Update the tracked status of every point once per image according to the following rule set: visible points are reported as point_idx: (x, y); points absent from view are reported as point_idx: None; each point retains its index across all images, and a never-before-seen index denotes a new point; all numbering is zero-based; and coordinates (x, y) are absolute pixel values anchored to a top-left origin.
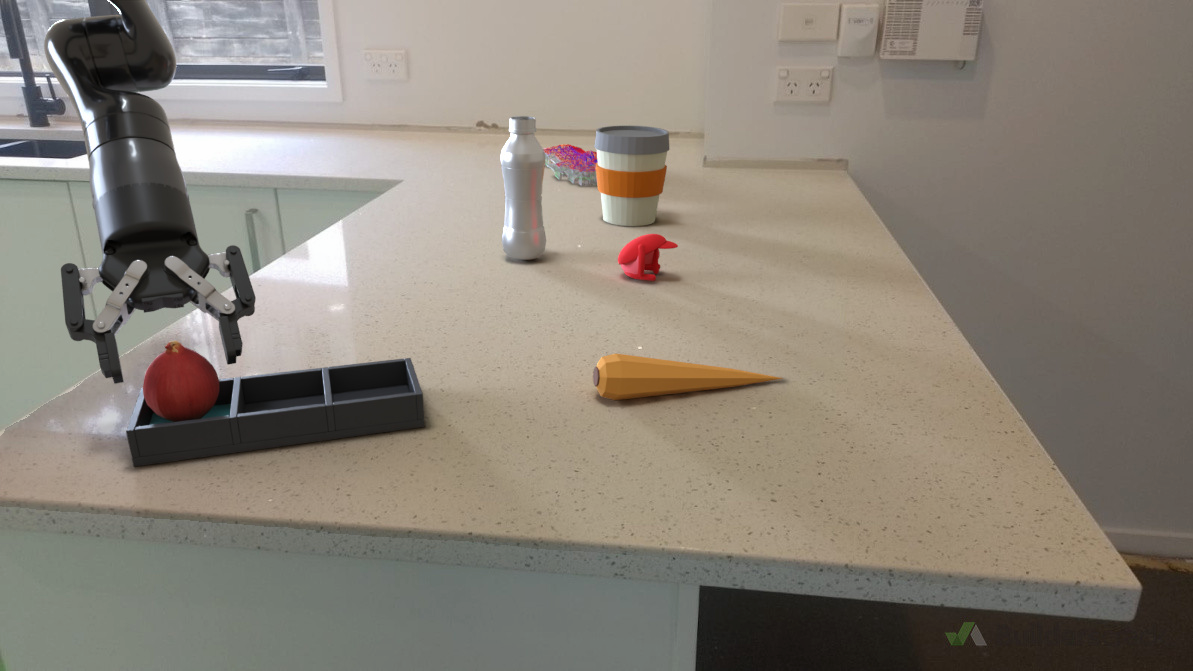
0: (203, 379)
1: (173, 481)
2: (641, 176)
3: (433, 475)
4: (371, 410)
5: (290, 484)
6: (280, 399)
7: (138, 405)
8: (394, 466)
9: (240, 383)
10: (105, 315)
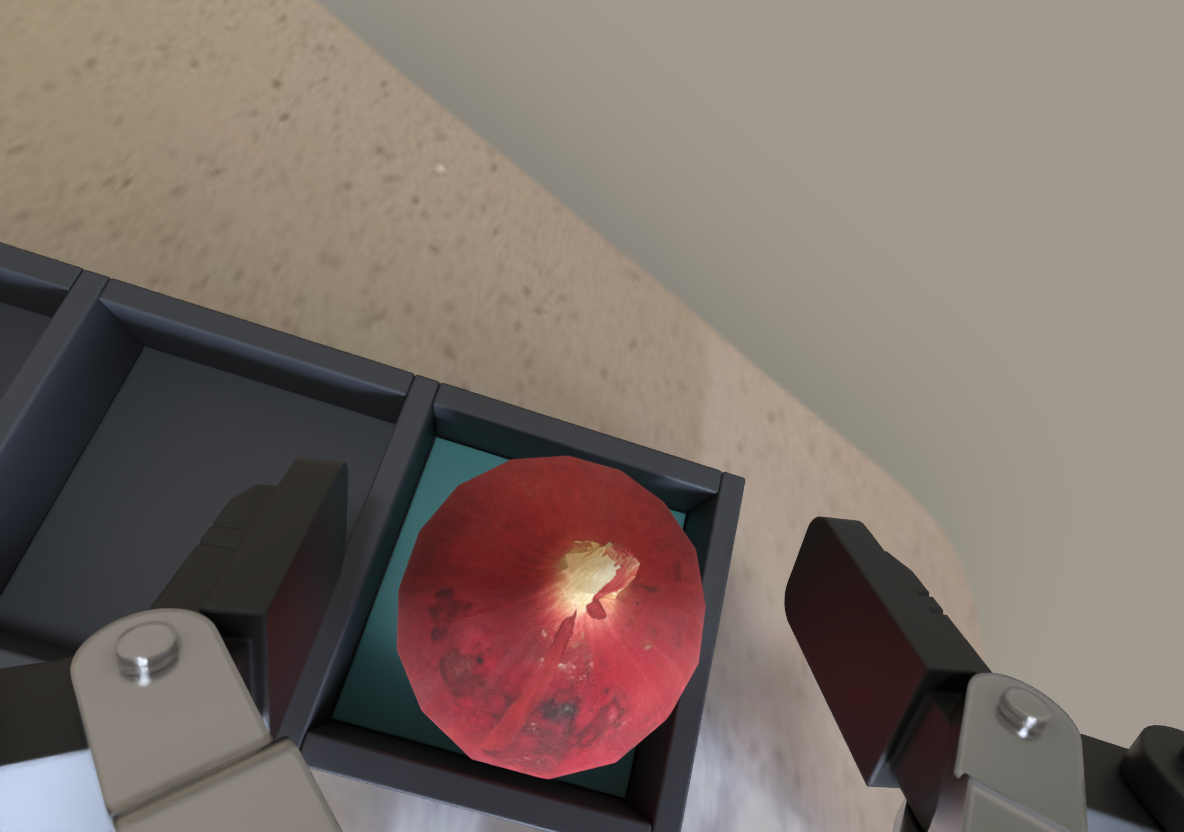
0: (483, 476)
1: (619, 374)
2: None
3: (47, 30)
4: None
5: (374, 198)
6: None
7: (698, 667)
8: (101, 117)
9: None
10: (1039, 776)
